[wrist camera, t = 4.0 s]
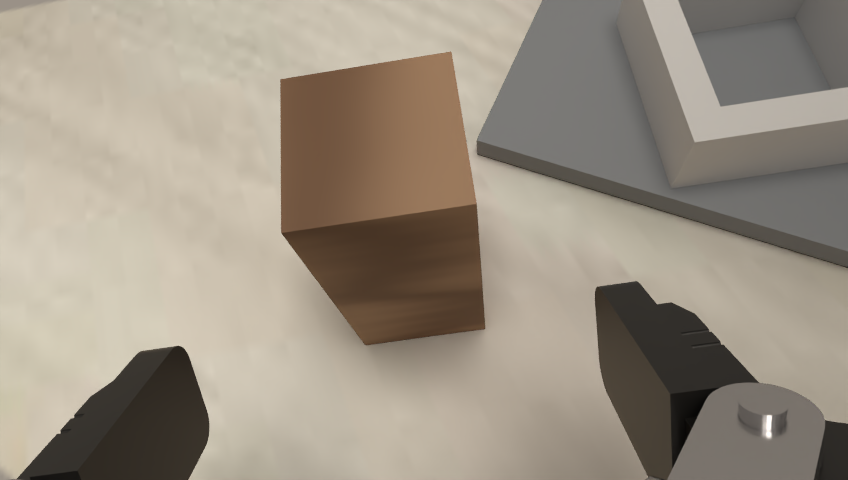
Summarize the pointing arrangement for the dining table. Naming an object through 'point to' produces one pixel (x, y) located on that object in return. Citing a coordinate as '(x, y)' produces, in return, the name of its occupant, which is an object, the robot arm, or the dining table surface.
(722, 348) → the robot arm
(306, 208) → the walnut peg
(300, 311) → the dining table surface
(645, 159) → the socket plate
